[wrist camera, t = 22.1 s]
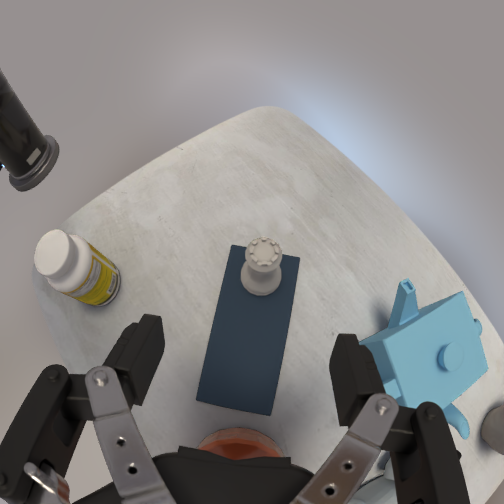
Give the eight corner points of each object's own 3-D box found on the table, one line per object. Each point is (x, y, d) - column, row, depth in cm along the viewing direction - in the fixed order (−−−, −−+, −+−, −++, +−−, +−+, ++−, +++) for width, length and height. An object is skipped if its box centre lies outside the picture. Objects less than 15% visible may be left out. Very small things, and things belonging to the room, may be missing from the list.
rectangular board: (270, 414, 27) (270, 415, 26) (196, 399, 28) (195, 400, 27) (299, 259, 34) (300, 257, 33) (232, 246, 34) (231, 244, 33)
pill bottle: (77, 270, 33) (27, 236, 22) (115, 253, 34) (71, 211, 23) (86, 314, 31) (31, 292, 20) (126, 297, 32) (79, 268, 21)
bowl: (187, 489, 23) (177, 507, 19) (202, 417, 27) (193, 427, 22) (273, 505, 23) (277, 525, 18) (293, 434, 26) (301, 447, 22)
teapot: (417, 276, 33) (469, 242, 22) (459, 394, 27) (518, 395, 16) (311, 326, 31) (342, 307, 20) (361, 459, 25) (406, 493, 14)
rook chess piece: (255, 304, 31) (257, 285, 23) (232, 271, 32) (227, 243, 25) (288, 282, 32) (300, 256, 24) (265, 250, 33) (270, 217, 26)
